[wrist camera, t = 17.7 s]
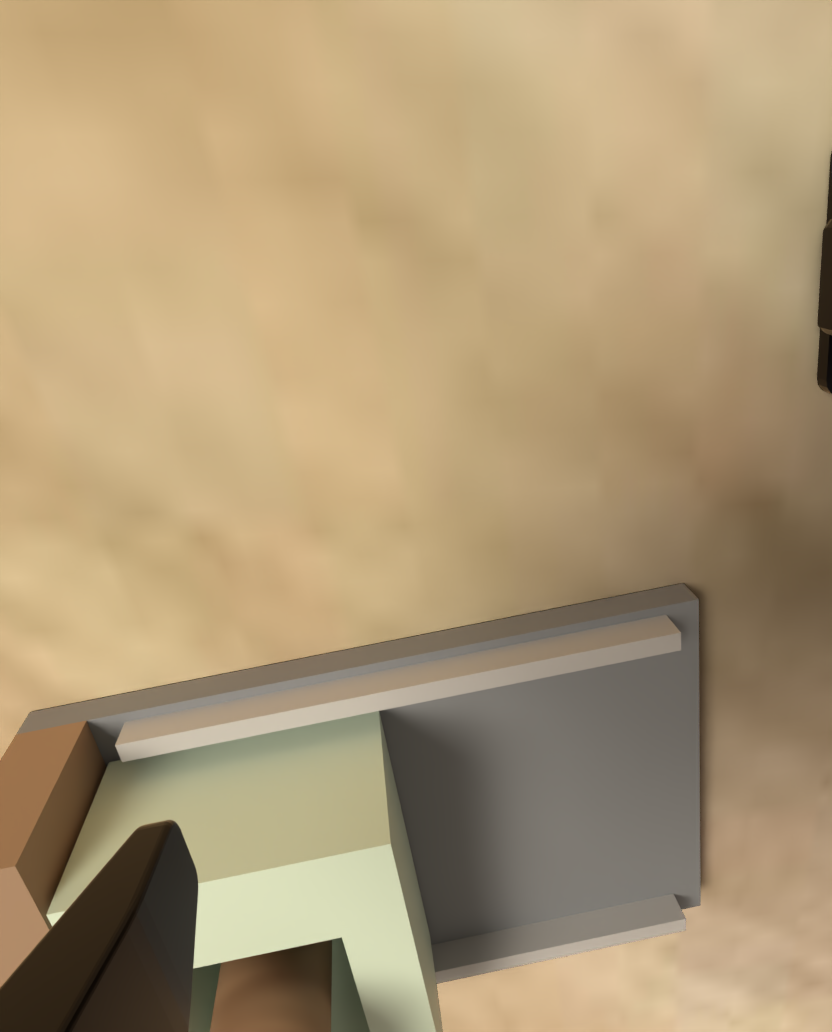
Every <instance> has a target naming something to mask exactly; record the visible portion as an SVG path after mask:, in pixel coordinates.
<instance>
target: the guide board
mask: <svg viewBox="0 0 832 1032" xmlns="http://www.w3.org/2000/svg"><path fill="white" fill-rule="evenodd" d="M376 711H379V713H380V717H381V721H382V726H383V730H384V735H385V739H386V743H387V748H388V752H389V757H390V761H391V766H392V770H393V774H394V779H395V783H396V788H397V792H398V796H399V801H400V805H401V810H402V814H403V818H404V823H405V827H406V832H407V836H408V841H409V845H410V849H411V854H412V858H413V863H414V867H415V871H416V876H417V880H418V885H419V889H420V893H421V898H422V902H423V907H424V911H425V916H426V920H427V924H428V929H429V933H430V939H431V946H432V954H433V961H434V969H435V976H436V984H438V983H443V982H447V981H452V980H457V979H461V978H466V977H471V976H475V975H480V974H485V973H489V972H494V971H499V970H503V969H508V968H513V967H517V966H522V965H527V964H532V963H536V962H541V961H546V960H550V959H555V958H560V957H564V956H569V955H574V954H578V953H583V952H588V951H592V950H597V949H602V948H607V947H611V946H616V945H621V944H625V943H630V942H635V941H639V940H644V939H649V938H653V937H658V936H663V935H667V934H672V933H677V932H681V931H686V918H685V916H684V914H683V912H682V910H681V909H686V908H691V907H695V906H700V730H699V599H698V598H697V597H696V596H695V595H694V594H693V593H692V592H691V590H690V589H689V588H688V587H687V586H686V585H685V584H684V583H682V584H677V585H672V586H667V587H662V588H657V589H652V590H646V591H641V592H636V593H631V594H626V595H621V596H616V597H611V598H606V599H601V600H596V601H591V602H586V603H581V604H576V605H570V606H565V607H560V608H555V609H550V610H545V611H540V612H535V613H530V614H525V615H520V616H515V617H510V618H505V619H499V620H494V621H489V622H484V623H479V624H474V625H469V626H464V627H459V628H454V629H449V630H444V631H439V632H434V633H429V634H423V635H418V636H413V637H408V638H403V639H398V640H393V641H388V642H383V643H378V644H373V645H368V646H363V647H358V648H353V649H347V650H342V651H337V652H332V653H327V654H322V655H317V656H312V657H307V658H302V659H297V660H292V661H287V662H282V663H276V664H271V665H266V666H261V667H256V668H251V669H246V670H241V671H236V672H231V673H226V674H221V675H216V676H211V677H206V678H200V679H195V680H190V681H185V682H180V683H175V684H170V685H165V686H160V687H155V688H150V689H145V690H140V691H135V692H129V693H124V694H119V695H114V696H109V697H104V698H99V699H94V700H89V701H84V702H79V703H74V704H69V705H64V706H59V707H53V708H48V709H43V710H38V711H33V712H30V713H29V714H28V716H27V718H26V719H25V721H24V723H23V724H22V726H21V728H20V729H19V731H18V732H17V734H16V736H15V737H14V739H13V741H12V742H11V744H10V746H9V747H8V749H7V750H6V752H5V754H4V755H3V757H2V759H1V760H0V987H1V986H2V985H3V984H4V982H5V981H6V980H7V979H8V978H9V977H10V975H11V974H12V973H13V972H14V971H15V970H16V968H17V967H18V966H19V965H20V964H21V963H22V961H23V960H24V959H25V958H26V957H27V956H28V954H29V953H30V952H31V951H32V950H33V949H34V947H35V946H36V945H37V944H38V943H39V942H40V940H41V939H42V938H43V937H44V936H45V935H46V933H47V932H48V931H49V930H50V929H51V928H52V925H51V923H50V921H49V919H48V918H47V916H46V914H47V912H48V909H49V907H50V904H51V902H52V900H53V897H54V895H55V892H56V890H57V887H58V885H59V883H60V880H61V878H62V875H63V873H64V870H65V868H66V866H67V863H68V861H69V858H70V856H71V853H72V851H73V849H74V846H75V844H76V841H77V839H78V836H79V834H80V832H81V829H82V827H83V824H84V822H85V819H86V817H87V815H88V812H89V810H90V807H91V805H92V802H93V800H94V798H95V795H96V793H97V790H98V788H99V785H100V783H101V781H102V778H103V776H104V773H105V771H106V768H107V766H108V763H109V762H113V761H118V760H121V761H122V762H126V761H131V760H136V759H141V758H146V757H151V756H156V755H161V754H166V753H171V752H176V751H181V750H186V749H191V748H196V747H201V746H206V745H211V744H216V743H221V742H226V741H231V740H236V739H241V738H246V737H251V736H256V735H261V734H266V733H271V732H276V731H281V730H286V729H291V728H296V727H301V726H306V725H311V724H316V723H321V722H326V721H331V720H336V719H341V718H346V717H351V716H356V715H361V714H366V713H371V712H376Z"/></svg>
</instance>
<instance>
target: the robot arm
mask: <svg viewBox="0 0 832 1032" xmlns="http://www.w3.org/2000/svg"><path fill="white" fill-rule="evenodd" d="M818 326H819V327H820V340H819V356H818V372H817V380H818V385H819V386H820V388H821V389H822V390H824V391H826V392H828V393H831V394H832V153H831V161H830V177H829V194H828V210H827V225H826V227H825V228H824V230H823V243H822V260H821V276H820V293H819V310H818ZM197 903H198V876H197V871H196V867H195V864H194V862H193V859H192V857H191V854H190V852H189V849H188V847H187V844H186V842H185V839H184V837H183V834H182V832H181V829H180V827H179V825H178V824H177V823H176V822H175V821H173V820H165V821H160V822H155V823H150V824H145V825H142V826H140V827H138V828H137V829H136V830H135V831H134V832H133V833H132V834H131V835H130V836H129V838H128V839H127V840H126V841H125V842H124V843H123V845H122V846H121V847H120V848H119V849H118V850H117V852H116V853H115V854H114V855H113V856H112V857H111V859H110V860H109V861H108V862H107V863H106V864H105V866H104V867H103V868H102V869H101V870H100V871H99V873H98V874H97V875H96V876H95V877H94V878H93V880H92V881H91V882H90V883H89V884H88V886H87V887H86V888H85V889H84V890H83V891H82V893H81V894H80V895H79V896H78V897H77V898H76V900H75V901H74V902H73V903H72V904H71V905H70V907H69V908H68V909H67V910H66V911H65V912H64V914H63V915H62V916H61V917H60V918H59V919H58V921H57V922H56V923H55V924H54V925H53V926H52V928H51V929H50V930H49V931H48V932H47V933H46V935H45V936H44V937H43V938H42V939H41V940H40V942H39V943H38V944H37V945H36V946H35V947H34V949H33V950H32V951H31V952H30V953H29V954H28V956H27V957H26V958H25V959H24V960H23V961H22V963H21V964H20V965H19V966H18V967H17V968H16V970H15V971H14V972H13V973H12V974H11V975H10V977H9V978H8V979H7V980H6V981H5V982H4V984H3V985H2V986H1V987H0V1032H188V1031H189V1021H190V1009H191V995H192V980H193V964H194V949H195V934H196V918H197Z"/></svg>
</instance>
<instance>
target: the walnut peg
mask: <svg viewBox="0 0 832 1032" xmlns="http://www.w3.org/2000/svg"><path fill="white" fill-rule="evenodd" d="M331 993H332V940H327V941H322V942H317V943H313V944H308V945H303V946H298V947H294V948H289V949H284V950H279V951H275V952H270V953H265V954H260V955H255V956H251V957H246V958H241V959H236V960H232V961H227V962H222V963H221V966H220V972H219V978H218V984H217V990H216V996H215V1002H214V1009H213V1015H212V1021H211V1027H210V1032H331Z"/></svg>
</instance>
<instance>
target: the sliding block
mask: <svg viewBox="0 0 832 1032" xmlns="http://www.w3.org/2000/svg"><path fill="white" fill-rule="evenodd" d="M165 820H173V821H175V822H176V823H177V824H178V825H179V827H180V829H181V832H182V834H183V837H184V839H185V842H186V844H187V847H188V849H189V852H190V854H191V857H192V859H193V862H194V864H195V867H196V871H197V876H198V903H197V918H196V934H195V949H194V964H193V980H192V995H191V1009H190V1021H189V1031H188V1032H210V1027H211V1021H212V1015H213V1009H214V1002H215V996H216V990H217V984H218V978H219V972H220V966H221V963H222V962H227V961H232V960H236V959H241V958H246V957H251V956H255V955H260V954H265V953H270V952H275V951H279V950H284V949H289V948H294V947H298V946H303V945H308V944H313V943H317V942H322V941H327V940H332V993H331V1032H443V1029H442V1022H441V1014H440V1006H439V999H438V991H437V984H436V976H435V969H434V961H433V954H432V946H431V939H430V933H429V929H428V924H427V920H426V916H425V911H424V907H423V902H422V898H421V893H420V889H419V885H418V880H417V876H416V871H415V867H414V863H413V858H412V854H411V849H410V845H409V841H408V836H407V832H406V827H405V823H404V818H403V814H402V810H401V805H400V801H399V796H398V792H397V788H396V783H395V779H394V774H393V770H392V766H391V761H390V757H389V752H388V748H387V743H386V739H385V735H384V730H383V726H382V721H381V717H380V713H379V711H376V712H371V713H366V714H361V715H356V716H351V717H346V718H341V719H336V720H331V721H326V722H321V723H316V724H311V725H306V726H301V727H296V728H291V729H286V730H281V731H276V732H271V733H266V734H261V735H256V736H251V737H246V738H241V739H236V740H231V741H226V742H221V743H216V744H211V745H206V746H201V747H196V748H191V749H186V750H181V751H176V752H171V753H166V754H161V755H156V756H151V757H146V758H141V759H136V760H131V761H126V762H122V761H121V760H118V761H113V762H109V763H108V766H107V768H106V771H105V773H104V776H103V778H102V781H101V783H100V785H99V788H98V790H97V793H96V795H95V798H94V800H93V802H92V805H91V807H90V810H89V812H88V815H87V817H86V819H85V822H84V824H83V827H82V829H81V832H80V834H79V836H78V839H77V841H76V844H75V846H74V849H73V851H72V853H71V856H70V858H69V861H68V863H67V866H66V868H65V870H64V873H63V875H62V878H61V880H60V883H59V885H58V887H57V890H56V892H55V895H54V897H53V900H52V902H51V904H50V907H49V909H48V912H47V914H46V916H47V918H48V919H49V921H50V923H51V925H52V926H53V925H54V924H55V923H56V922H57V921H58V919H59V918H60V917H61V916H62V915H63V914H64V912H65V911H66V910H67V909H68V908H69V907H70V905H71V904H72V903H73V902H74V901H75V900H76V898H77V897H78V896H79V895H80V894H81V893H82V891H83V890H84V889H85V888H86V887H87V886H88V884H89V883H90V882H91V881H92V880H93V878H94V877H95V876H96V875H97V874H98V873H99V871H100V870H101V869H102V868H103V867H104V866H105V864H106V863H107V862H108V861H109V860H110V859H111V857H112V856H113V855H114V854H115V853H116V852H117V850H118V849H119V848H120V847H121V846H122V845H123V843H124V842H125V841H126V840H127V839H128V838H129V836H130V835H131V834H132V833H133V832H134V831H135V830H136V829H137V828H138V827H140V826H142V825H145V824H150V823H155V822H160V821H165Z"/></svg>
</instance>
